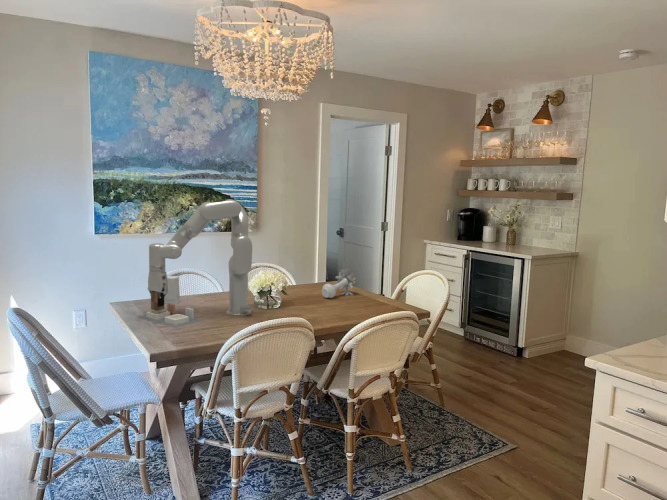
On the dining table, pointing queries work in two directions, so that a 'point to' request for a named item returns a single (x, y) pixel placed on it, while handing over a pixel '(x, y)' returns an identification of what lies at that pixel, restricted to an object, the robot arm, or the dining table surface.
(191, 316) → the pale grey tag
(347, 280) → the flower vase
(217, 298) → the dining table surface
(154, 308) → the walnut plug
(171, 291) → the skincare box
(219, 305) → the dining table surface
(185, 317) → the tag board
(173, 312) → the terracotta tag
